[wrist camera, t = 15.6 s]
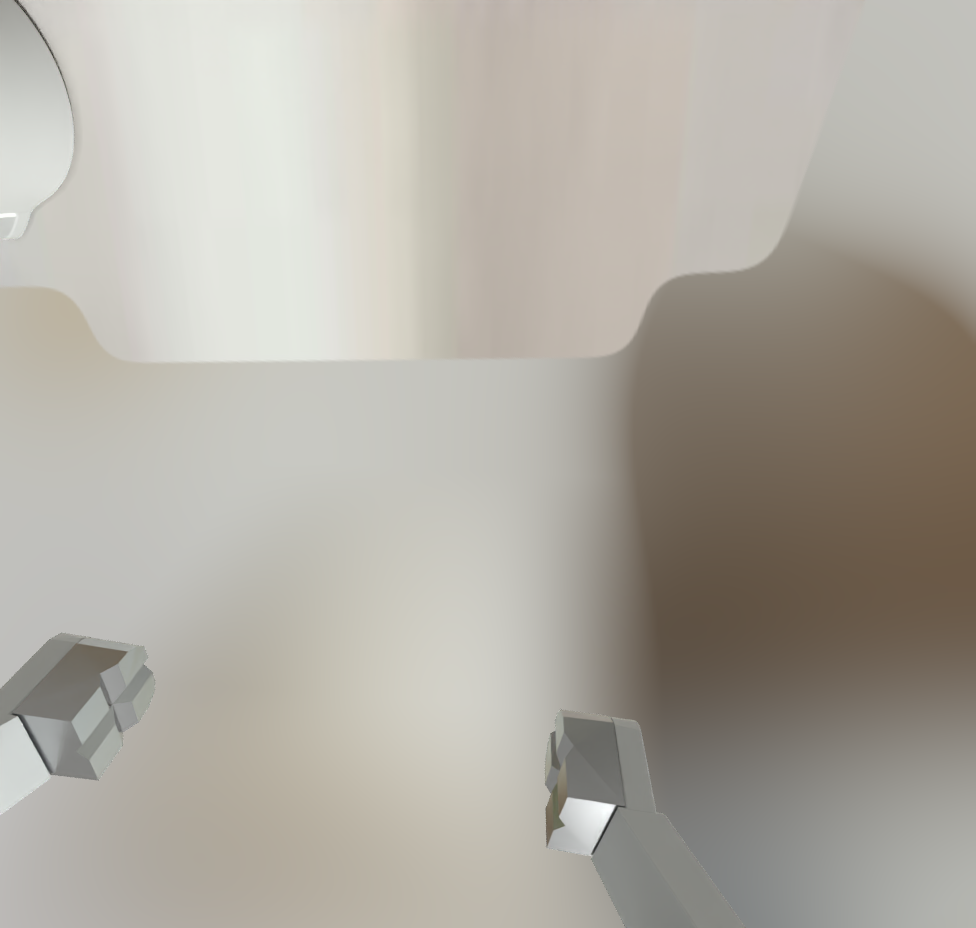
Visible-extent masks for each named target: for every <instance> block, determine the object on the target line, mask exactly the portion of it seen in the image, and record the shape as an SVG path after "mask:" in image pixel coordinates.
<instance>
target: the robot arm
mask: <svg viewBox="0 0 976 928" xmlns="http://www.w3.org/2000/svg"><path fill="white" fill-rule="evenodd" d="M73 150H74V124H73V117H72V111H71V106H70V102H69V98H68V94H67V91H66V88H65V85H64V82H63V79H62V77H61V74H60V72H59V69H58V67H57V65H56V63H55V61H54V59H53V56H52V55H51V53H50V51H49V49H48V47H47V45H46V44H45V42H44V40H43V39H42V37H41V35H40V34H39V32H38V31H37V29H36V28H35V26H34V25H33V23H32V22H31V21H30V19H29V18H28V17H27V15H26V14H25V13H24V12H23V10H22V9H21V8H20V7H19V5H18V4H17V3H16V2H15V1H14V0H0V240H14V239H18V238H20V237H21V236H22V235H23V233H24V231H25V229H26V227H27V224H28V221H29V219H30V215H31V212H32V211H33V210H34V208H35V207H36V206H38V205H39V204H40V203H42V202H43V201H44V200H46V199H47V198H49V197H50V196H51V195H52V194H54V193H55V192H56V190H57V189H58V188H59V187H60V186H61V184H62V183H63V181H64V179H65V178H66V176H67V173H68V171H69V168H70V165H71V161H72V157H73ZM147 659H148V655H147V653H146V650H145V648H144V646H139V645H133V644H126V643H120V642H114V641H108V640H102V639H95V638H91V637H86V636H79V635H72V634H66V633H60V634H58V635H57V636H55V637H53V638H51V639H49V640H48V641H47V642H46V643H45V644H44V645H43V646H42V647H41V648H40V649H39V650H38V652H36V653H35V654H34V655H33V656H32V658H30V659H29V661H28V662H27V663H25V664H24V666H22V668H21V669H20V670H19V671H18V672H17V673H16V674H15V675H14V676H13V677H12V678H11V679H10V680H9V681H8V682H7V683H6V684H5V685H4V686H3V687H2V688H1V689H0V815H1V814H2V813H3V812H5V811H7V810H8V809H9V808H11V807H12V806H13V805H15V804H16V803H17V802H19V801H20V800H21V799H23V798H24V797H25V796H27V795H28V794H30V793H31V792H32V791H34V790H35V789H36V788H38V787H39V786H41V785H42V784H43V783H45V782H46V781H47V780H49V779H50V778H51V775H58V776H67V777H75V778H84V779H91V780H99V779H100V777H101V776H102V775H103V773H104V772H105V770H106V769H107V767H108V766H109V765H110V763H111V762H112V760H113V758H114V757H115V756H116V754H117V753H118V752H119V750H120V749H121V747H122V746H123V732H124V731H125V730H127V729H129V728H130V727H132V726H133V725H135V724H137V723H138V722H139V721H140V720H141V718H142V716H143V715H144V713H145V712H146V710H147V709H148V707H149V705H150V702H151V699H152V697H153V694H154V690H155V679H154V675H153V672H152V671H151V670H149V669H148V668H147V667H146V666H145V665H144V663H145V661H146V660H147ZM555 724H556V725H555V727H556V731H554V732H552V733H551V734H550V737H549V741H548V745H547V752H546V758H545V785H546V786H547V788H548V789H549V791H550V793H551V795H550V798H549V801H548V804H547V806H546V844H547V845H546V847H547V848H549V849H554V850H559V851H565V852H570V853H576V854H582V855H587V856H592V858H591V860H592V862H593V864H594V866H595V868H596V870H597V872H598V874H599V876H600V878H601V880H602V882H603V884H604V886H605V888H606V890H607V892H608V894H609V896H610V898H611V900H612V902H613V904H614V906H615V908H616V910H617V912H618V914H619V916H620V918H621V920H622V922H623V924H624V926H625V927H626V928H746V927H745V926H744V924H743V923H742V922H741V920H740V919H739V918H738V916H737V915H736V913H735V912H734V910H733V909H732V908H731V906H730V905H729V903H728V902H727V901H726V899H725V898H724V897H723V895H722V894H721V892H720V891H719V890H718V888H717V887H716V885H715V884H714V883H713V881H712V880H711V879H710V877H709V876H708V874H707V873H706V871H705V870H704V869H703V867H702V866H701V864H700V863H699V862H698V860H697V859H696V858H695V856H694V855H693V853H692V852H691V850H690V849H689V848H688V847H687V845H686V843H685V842H684V841H683V839H682V838H681V837H680V835H679V834H678V832H677V831H676V830H675V828H674V827H673V825H672V824H671V823H670V821H669V820H668V818H667V817H666V816H665V814H662V813H657V812H656V807H655V802H654V797H653V792H652V786H651V781H650V776H649V770H648V765H647V760H646V755H645V750H644V744H643V739H642V734H641V728H640V726H639V724H638V723H637V722H636V721H634V720H628V719H621V718H613V717H609V716H604V715H597V714H590V713H582V712H575V711H567V710H560V711H559V712H558V714H557V716H556V719H555Z"/></svg>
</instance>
